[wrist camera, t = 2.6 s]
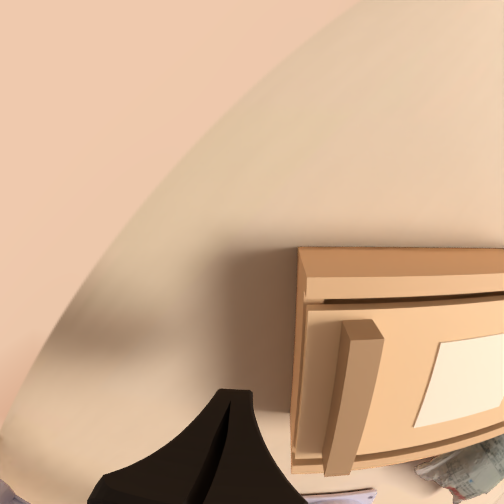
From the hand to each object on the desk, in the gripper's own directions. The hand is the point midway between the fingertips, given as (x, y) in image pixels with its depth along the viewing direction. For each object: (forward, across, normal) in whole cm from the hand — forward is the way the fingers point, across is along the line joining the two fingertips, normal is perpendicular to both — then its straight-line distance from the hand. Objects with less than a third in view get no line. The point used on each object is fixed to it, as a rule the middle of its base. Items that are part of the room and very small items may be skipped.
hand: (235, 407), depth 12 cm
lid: (+1, -10, 0) cm, 10 cm away
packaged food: (+6, -20, +13) cm, 25 cm away
